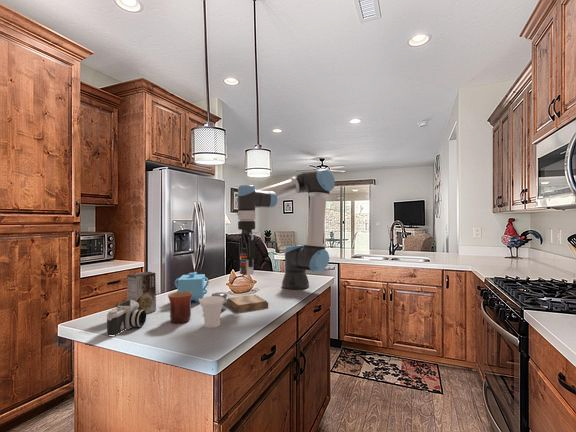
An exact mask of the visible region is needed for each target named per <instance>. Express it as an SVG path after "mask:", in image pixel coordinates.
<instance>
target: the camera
mask: <svg viewBox="0 0 576 432" xmlns="http://www.w3.org/2000/svg"><path fill="white" fill-rule="evenodd" d="M138 307H139V304H138V302H135V301H134V300H129V301H127V300H126V301H123V302H119V303H117V304H116V307H115V308H112V309H111V310H109V311H108V313H107V314H106V335H107V334H108V335H116V334H118V333H120V332H121V331H123V330H125V329H129V330H130V328H131V329H132V328H135V327H137V328H141V327H143V326H144V325H145V324H146V322H147V321H146V320H147V314H146V312H145V311H144V310H138ZM125 331H126V330H125Z"/></svg>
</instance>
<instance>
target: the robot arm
mask: <svg viewBox="0 0 576 432" xmlns="http://www.w3.org/2000/svg"><path fill="white" fill-rule="evenodd" d="M335 186H336V182H335V177H334V175H333V173H332V172H331V171H330V170H328V169H326V168H324V169H315V170H310V171H304V172H301V173H299V174H296V175H293V176H291V177H289V178H287V180H283V181H281V182H278V183H275V184H271V185H267V186H264V187H261V188H258V189H256V187H255V185H251V184H242V185H239V186H238V187H237V198H236V202H237V210H238V211H237V213H236V215H237V219H238V221H237V229H238V231H239V230H240V231H241V233H239V234H238V239H239V240H238V243H239V244H238V250H239V251H238V256H239V257H240V254H241V253H242V248H246V251H247V258H246V267H247V275H246V276H250V275H254V260H253V259H256V235H255V234H253V230H256V208H268V209H269V208H275V207H276V205H277V203H278V199H280V198H282V197H284V196H288V195H291V194H293V195H296V194H301V193H303V194H304V193H307V195H308V196H309V210H308V222H307V223H308V224H307V225H308V226H307V234H306V235H307V237H306V242H305V243H303V244H299V245H290V246H288V245H287V246H286V247H285V250H284V274H283V275H284V276H283V279H282V281H281V287H282V288H284V289H288V290H304V289H307V288H309V287H310V282H309V278H308V275H307V271H311V272H319V273H320V272H323V271H324V270H325V269H326V268H327V266H328V265H329V262H330V253H329V252H328V250H327V249H326V245H325V244H324V234H325V221H326V219H325V218H326V209H327V208H326V206H327V205H326V204H327V198H328V197H329V196H330V193H331V191H333V189H334V188H335Z"/></svg>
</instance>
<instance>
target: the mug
mask: <svg viewBox="0 0 576 432" xmlns="http://www.w3.org/2000/svg"><path fill="white" fill-rule="evenodd" d="M192 294H193V293H192V292H187V291H182V292H177V291H175V292H171V293H169V294H168V296H167V297H168V300H169V303H170V304H169V306H170V307H169V317H170V318H169V319H170V322H171V323H172V324H178V325H180V324H185V323H188V322H189V321H190V320H191V315H192V313H191V311H192V310H191V308H192V306H191V301H192V300H191V298H192Z"/></svg>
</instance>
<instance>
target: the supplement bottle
mask: <svg viewBox="0 0 576 432" xmlns="http://www.w3.org/2000/svg"><path fill="white" fill-rule="evenodd" d="M246 258H247V251H246V248H242V253H241V254H240V256H239V274H240V275H244V276H248V275H247V267H246ZM254 259H255V258H254ZM254 259H253V261H254Z"/></svg>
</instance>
